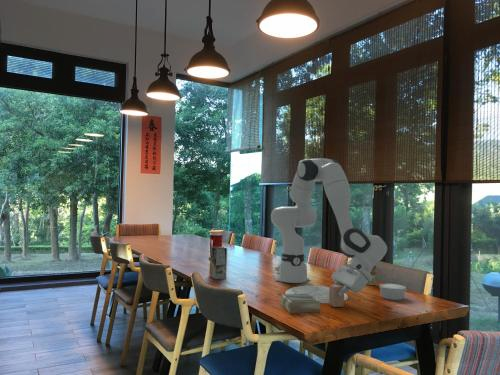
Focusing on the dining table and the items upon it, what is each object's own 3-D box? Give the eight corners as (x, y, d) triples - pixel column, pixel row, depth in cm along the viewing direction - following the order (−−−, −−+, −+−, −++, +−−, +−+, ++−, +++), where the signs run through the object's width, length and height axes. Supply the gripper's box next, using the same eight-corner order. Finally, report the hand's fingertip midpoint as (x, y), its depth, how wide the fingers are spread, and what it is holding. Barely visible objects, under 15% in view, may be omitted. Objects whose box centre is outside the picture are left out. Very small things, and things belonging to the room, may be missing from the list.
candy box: (376, 284, 204) (376, 255, 204) (370, 285, 202) (370, 255, 202) (363, 281, 212) (364, 252, 212) (357, 282, 210) (358, 253, 210)
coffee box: (226, 278, 210) (227, 248, 210) (215, 279, 207) (216, 248, 207) (219, 275, 218) (220, 246, 218) (209, 276, 215) (209, 246, 215)
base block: (280, 304, 163) (280, 293, 163) (308, 303, 166) (308, 292, 166) (290, 312, 151) (290, 301, 151) (319, 311, 154) (319, 300, 154)
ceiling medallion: (300, 306, 163) (300, 298, 163) (276, 289, 190) (276, 283, 190) (360, 302, 171) (360, 295, 171) (329, 287, 198) (329, 281, 198)
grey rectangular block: (329, 303, 164) (329, 284, 164) (338, 303, 165) (339, 284, 165) (333, 307, 160) (334, 287, 160) (343, 306, 161) (344, 286, 161)
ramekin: (377, 294, 185) (377, 282, 185) (401, 295, 184) (402, 283, 184) (382, 300, 174) (382, 288, 174) (408, 301, 173) (409, 289, 173)
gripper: (341, 259, 174) (320, 282, 172) (365, 268, 154) (341, 294, 152) (350, 269, 175) (329, 292, 173) (375, 279, 155) (351, 305, 153)
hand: (335, 293), depth 162 cm, fingers closed on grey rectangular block, 4 cm apart
